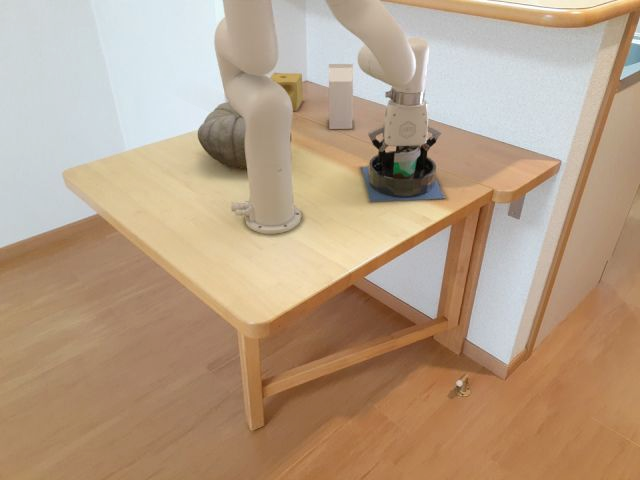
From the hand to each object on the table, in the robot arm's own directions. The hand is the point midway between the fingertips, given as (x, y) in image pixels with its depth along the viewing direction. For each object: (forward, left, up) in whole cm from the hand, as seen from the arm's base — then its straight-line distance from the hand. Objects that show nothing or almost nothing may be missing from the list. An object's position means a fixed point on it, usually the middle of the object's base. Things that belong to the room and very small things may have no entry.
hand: (401, 163), depth 127 cm
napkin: (0, 0, -5) cm, 5 cm away
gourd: (-40, +17, -6) cm, 44 cm away
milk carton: (-12, +39, -6) cm, 41 cm away
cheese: (-29, +58, -6) cm, 65 cm away
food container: (+1, 0, -5) cm, 5 cm away
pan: (0, 0, -5) cm, 5 cm away
